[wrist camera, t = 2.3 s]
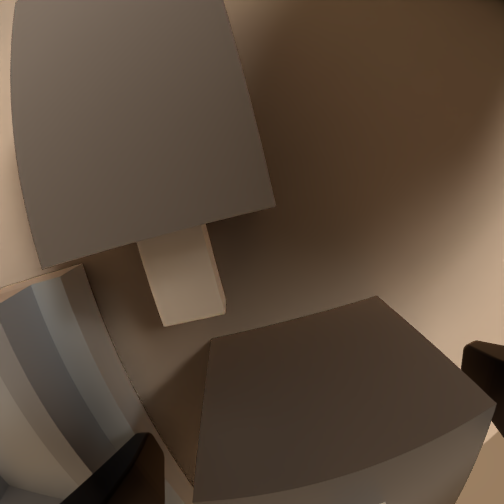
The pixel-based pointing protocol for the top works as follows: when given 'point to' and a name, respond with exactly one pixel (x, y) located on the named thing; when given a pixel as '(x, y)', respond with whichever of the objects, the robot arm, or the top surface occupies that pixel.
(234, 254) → the top surface
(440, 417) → the brick
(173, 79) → the cable plug
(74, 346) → the blue gray tray
